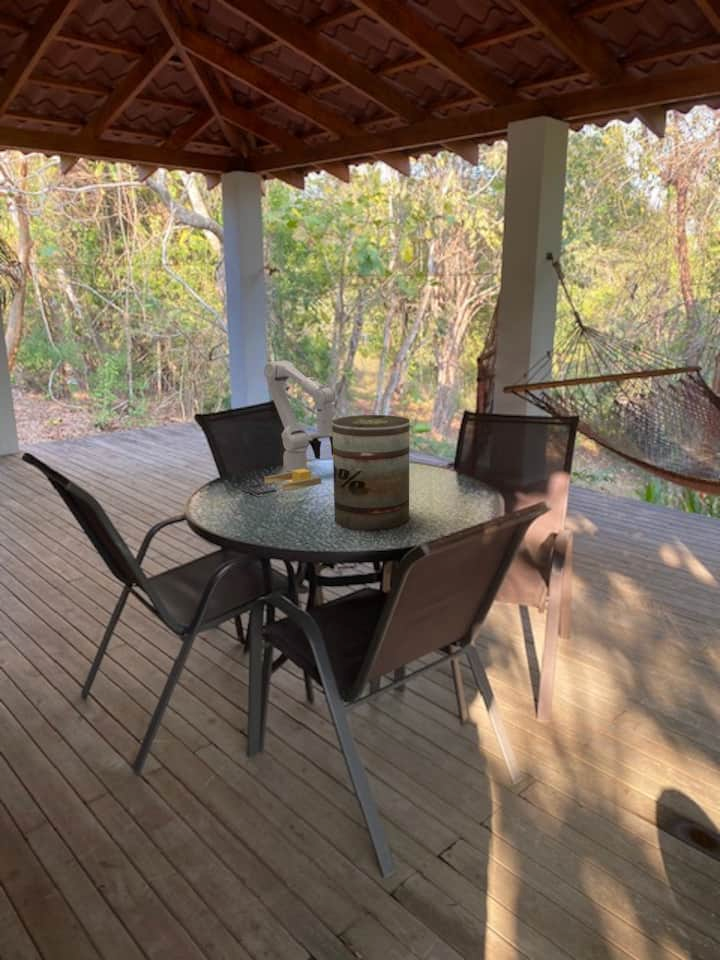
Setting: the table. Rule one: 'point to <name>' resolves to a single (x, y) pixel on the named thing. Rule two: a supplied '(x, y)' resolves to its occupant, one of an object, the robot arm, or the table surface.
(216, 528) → the table surface
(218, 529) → the table surface
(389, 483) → the barrel
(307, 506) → the table surface
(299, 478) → the block
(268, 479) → the channel
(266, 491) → the pit tray
